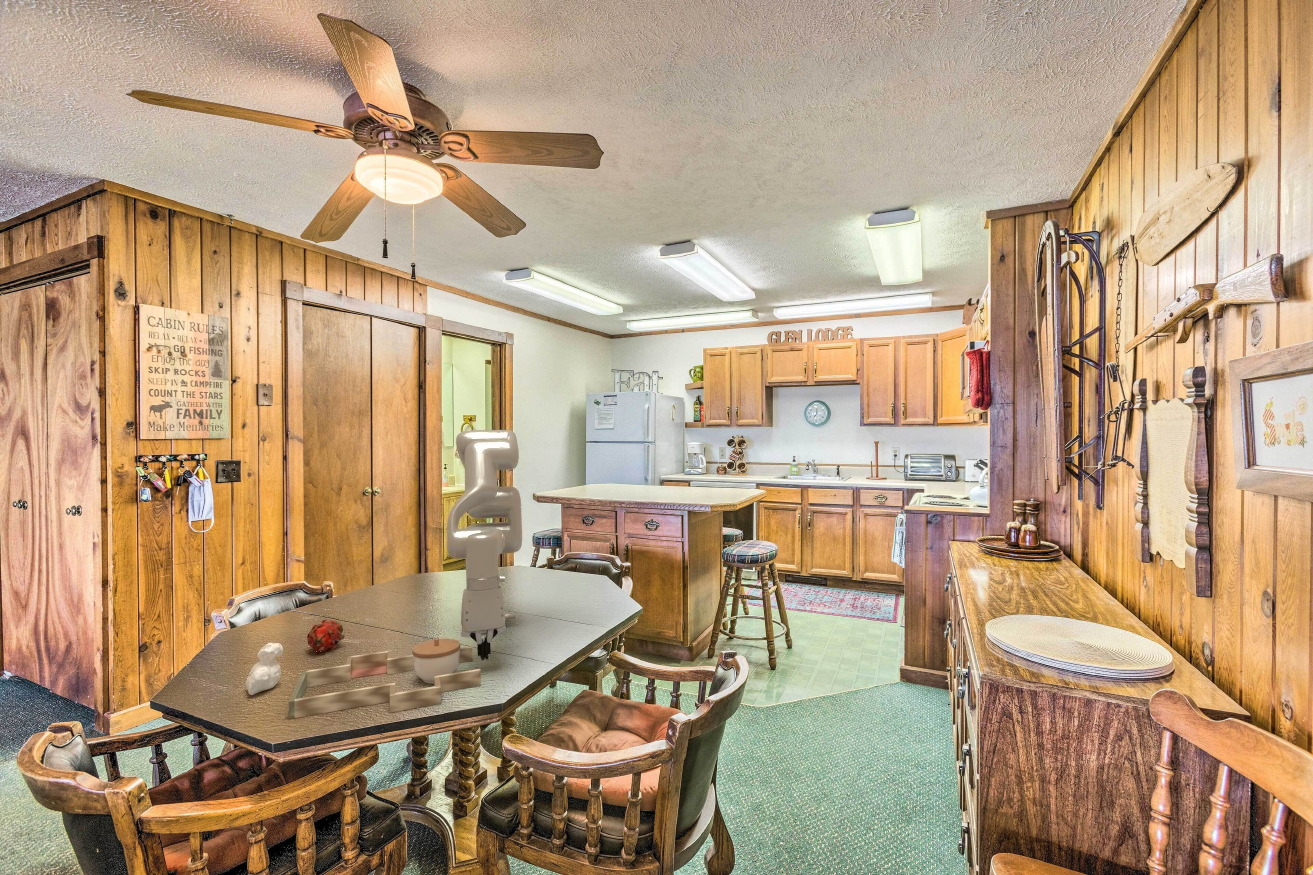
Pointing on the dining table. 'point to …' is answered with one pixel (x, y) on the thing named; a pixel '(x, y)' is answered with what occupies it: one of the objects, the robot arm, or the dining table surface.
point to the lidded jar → (436, 658)
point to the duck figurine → (265, 669)
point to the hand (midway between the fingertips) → (484, 657)
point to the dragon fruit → (325, 635)
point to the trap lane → (375, 694)
